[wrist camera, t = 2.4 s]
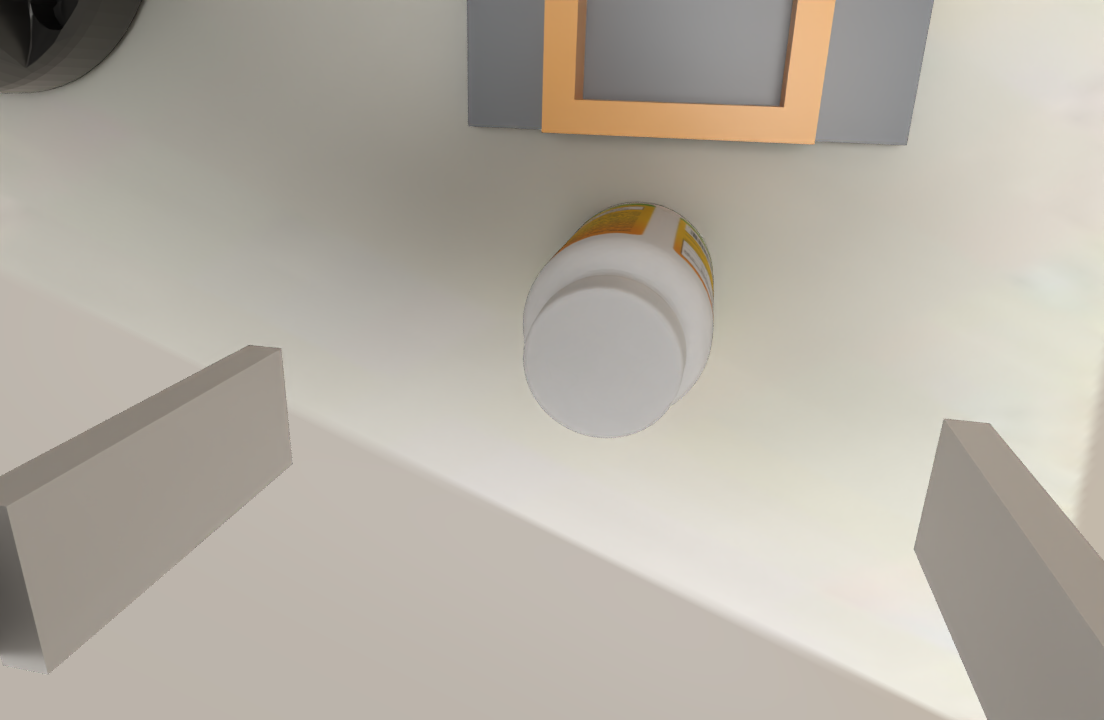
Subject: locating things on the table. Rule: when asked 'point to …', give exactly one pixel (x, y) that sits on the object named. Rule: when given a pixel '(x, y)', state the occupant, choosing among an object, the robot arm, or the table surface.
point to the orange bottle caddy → (699, 68)
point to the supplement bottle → (620, 321)
